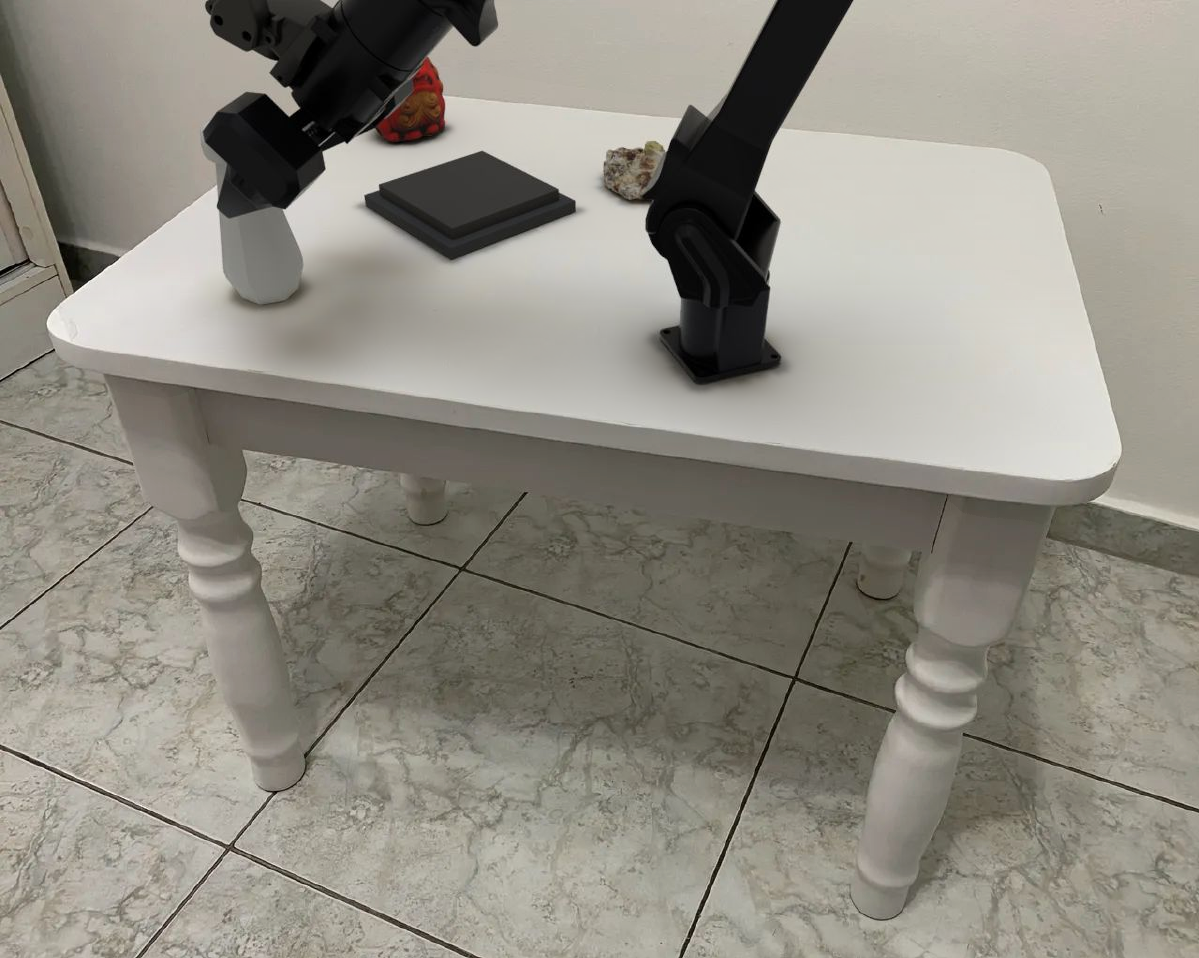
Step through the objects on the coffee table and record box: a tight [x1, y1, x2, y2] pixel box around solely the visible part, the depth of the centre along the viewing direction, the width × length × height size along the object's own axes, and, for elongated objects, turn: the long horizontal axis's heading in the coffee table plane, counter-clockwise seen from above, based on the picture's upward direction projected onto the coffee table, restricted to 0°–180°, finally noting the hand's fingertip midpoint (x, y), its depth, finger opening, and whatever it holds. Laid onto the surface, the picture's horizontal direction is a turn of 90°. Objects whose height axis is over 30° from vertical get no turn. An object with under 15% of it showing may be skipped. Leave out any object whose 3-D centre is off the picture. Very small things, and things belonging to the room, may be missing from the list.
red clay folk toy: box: [374, 55, 446, 143], centre depth 95 cm, size 8×7×15 cm
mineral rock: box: [602, 140, 666, 201], centre depth 89 cm, size 11×4×8 cm
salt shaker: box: [199, 119, 304, 306], centre depth 72 cm, size 6×6×13 cm
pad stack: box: [363, 150, 577, 260], centre depth 86 cm, size 13×13×2 cm
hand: (257, 184), depth 70 cm, fingers open, 9 cm apart
